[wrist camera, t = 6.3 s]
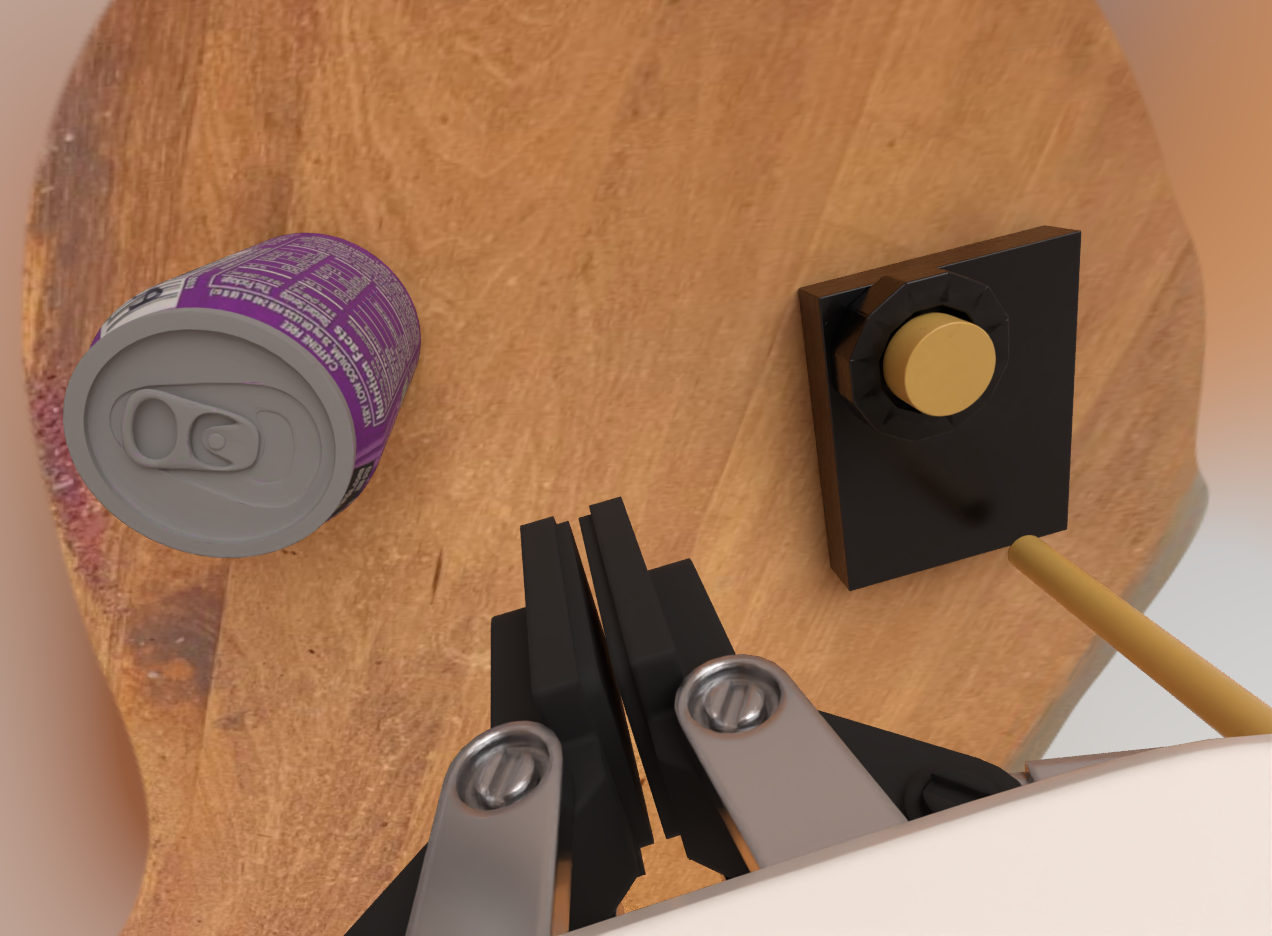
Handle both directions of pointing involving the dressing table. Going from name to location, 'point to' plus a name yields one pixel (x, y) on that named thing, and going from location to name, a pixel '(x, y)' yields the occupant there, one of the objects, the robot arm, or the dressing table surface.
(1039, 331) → the lamp base
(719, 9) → the dressing table surface
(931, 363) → the button
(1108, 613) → the lamp
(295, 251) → the beverage can
